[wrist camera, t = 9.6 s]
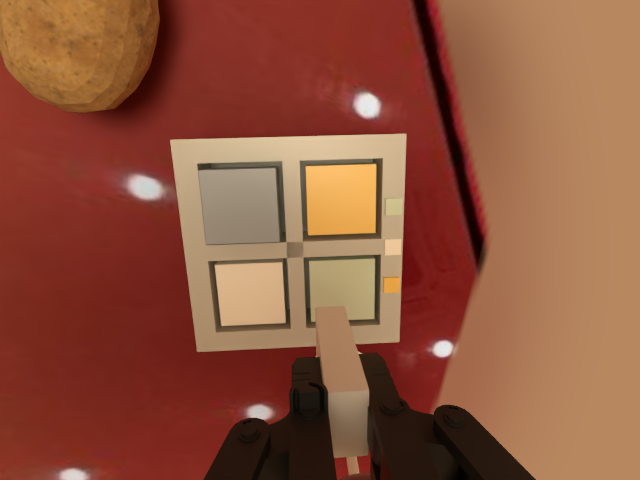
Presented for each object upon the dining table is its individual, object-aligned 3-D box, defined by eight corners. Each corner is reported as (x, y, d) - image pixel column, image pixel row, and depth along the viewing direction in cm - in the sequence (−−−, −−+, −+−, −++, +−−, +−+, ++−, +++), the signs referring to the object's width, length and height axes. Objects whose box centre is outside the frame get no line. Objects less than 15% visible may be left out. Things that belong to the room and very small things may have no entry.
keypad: (213, 320, 33) (196, 354, 27) (193, 141, 29) (168, 139, 23) (384, 312, 33) (400, 344, 28) (388, 136, 29) (407, 133, 24)
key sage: (310, 307, 30) (311, 321, 28) (308, 251, 29) (308, 261, 27) (368, 304, 31) (374, 318, 28) (368, 249, 29) (375, 258, 27)
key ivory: (228, 311, 30) (221, 325, 28) (222, 254, 29) (214, 265, 26) (287, 308, 30) (285, 323, 28) (284, 252, 29) (282, 262, 26)
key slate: (215, 235, 27) (206, 244, 24) (208, 168, 26) (198, 170, 23) (281, 233, 27) (279, 241, 24) (278, 166, 26) (275, 168, 23)
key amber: (307, 227, 29) (308, 235, 26) (305, 164, 27) (305, 166, 25) (369, 225, 29) (375, 232, 26) (369, 162, 28) (376, 164, 25)
